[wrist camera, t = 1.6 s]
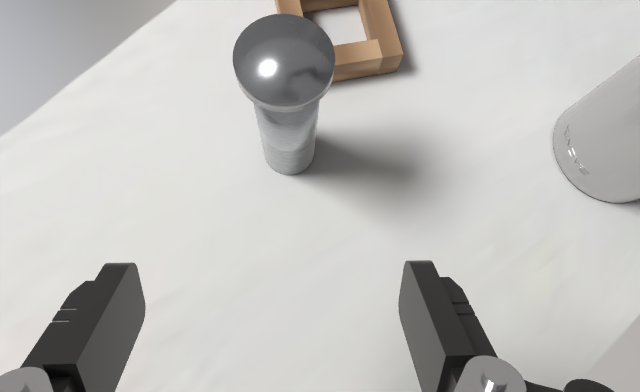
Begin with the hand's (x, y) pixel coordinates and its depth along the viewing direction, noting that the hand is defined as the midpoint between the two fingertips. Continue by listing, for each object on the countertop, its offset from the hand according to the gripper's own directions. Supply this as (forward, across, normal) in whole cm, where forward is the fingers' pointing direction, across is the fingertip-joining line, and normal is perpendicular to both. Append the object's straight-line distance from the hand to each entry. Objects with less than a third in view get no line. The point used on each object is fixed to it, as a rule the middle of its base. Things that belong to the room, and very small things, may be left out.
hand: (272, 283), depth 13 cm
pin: (+22, 0, +5) cm, 22 cm away
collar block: (+29, -4, -3) cm, 30 cm away
